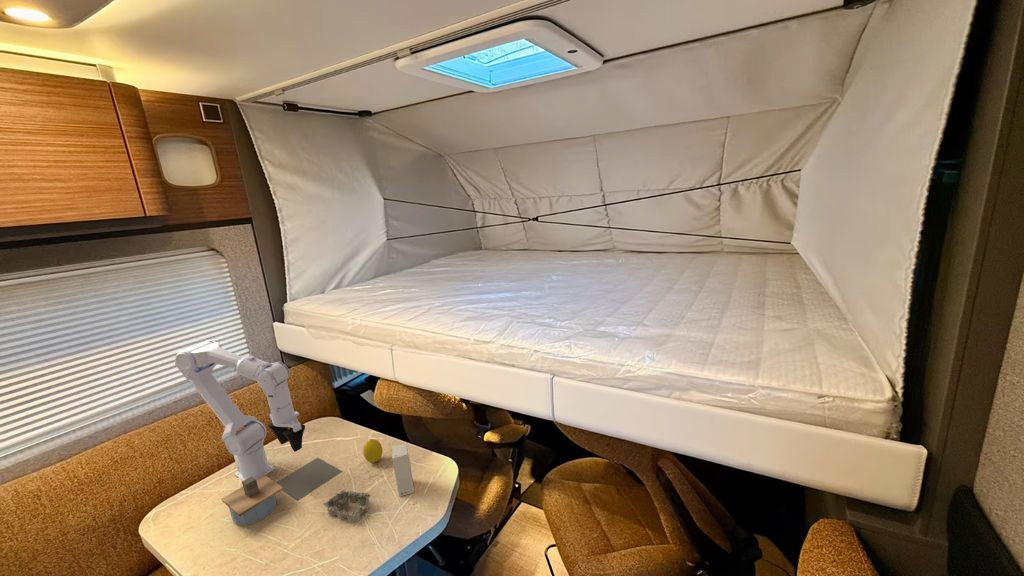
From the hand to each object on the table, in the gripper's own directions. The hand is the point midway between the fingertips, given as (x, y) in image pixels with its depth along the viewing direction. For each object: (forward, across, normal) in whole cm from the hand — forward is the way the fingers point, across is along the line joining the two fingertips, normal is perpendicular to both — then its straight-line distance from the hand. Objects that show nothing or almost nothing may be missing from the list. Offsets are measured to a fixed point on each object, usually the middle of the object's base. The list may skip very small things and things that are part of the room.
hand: (291, 446), depth 124 cm
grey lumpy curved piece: (+11, -27, +1) cm, 29 cm away
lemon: (+11, -16, -16) cm, 25 cm away
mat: (+10, -4, -1) cm, 11 cm away
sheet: (+5, -4, +14) cm, 15 cm away
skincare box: (+11, -34, -13) cm, 38 cm away
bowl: (+10, -4, +14) cm, 18 cm away
